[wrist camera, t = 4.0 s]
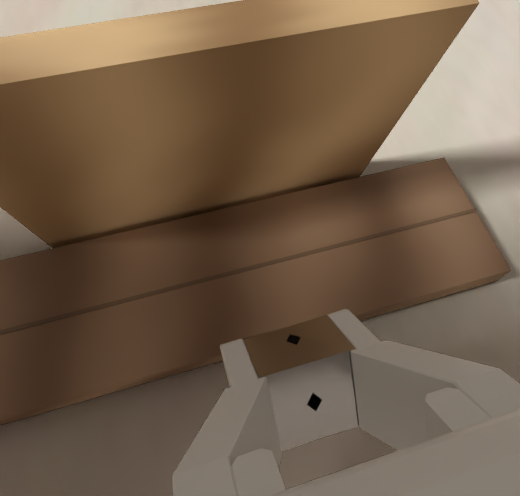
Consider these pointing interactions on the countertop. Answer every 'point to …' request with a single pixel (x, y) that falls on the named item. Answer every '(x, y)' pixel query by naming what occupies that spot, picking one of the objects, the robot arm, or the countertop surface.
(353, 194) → the walnut floorboard
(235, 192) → the oak plank
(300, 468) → the countertop surface
